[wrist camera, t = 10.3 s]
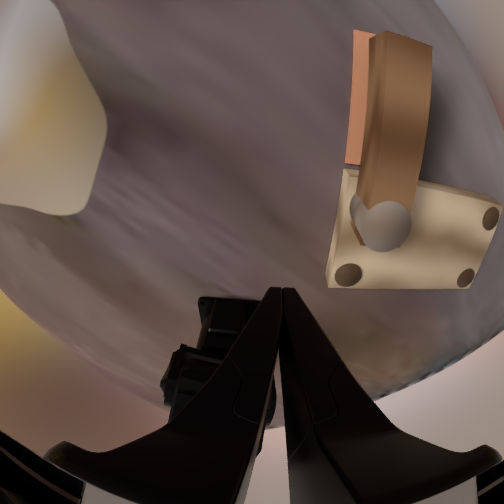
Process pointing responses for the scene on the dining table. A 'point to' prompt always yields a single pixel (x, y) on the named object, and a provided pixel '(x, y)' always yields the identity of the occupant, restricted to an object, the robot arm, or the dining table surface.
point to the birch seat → (417, 241)
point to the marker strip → (358, 97)
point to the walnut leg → (392, 140)
